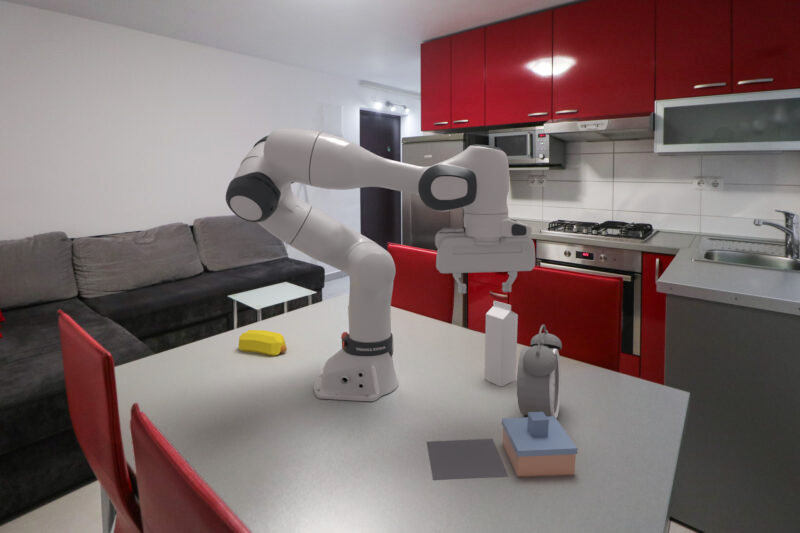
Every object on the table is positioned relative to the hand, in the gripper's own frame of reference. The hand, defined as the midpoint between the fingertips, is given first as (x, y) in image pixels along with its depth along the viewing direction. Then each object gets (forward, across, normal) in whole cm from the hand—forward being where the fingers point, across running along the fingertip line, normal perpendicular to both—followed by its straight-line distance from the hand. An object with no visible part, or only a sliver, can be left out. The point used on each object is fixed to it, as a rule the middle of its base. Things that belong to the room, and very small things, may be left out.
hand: (484, 292), depth 94 cm
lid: (+26, +8, -13) cm, 30 cm away
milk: (+31, +10, +22) cm, 40 cm away
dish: (+31, +8, -13) cm, 35 cm away
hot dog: (+31, -61, +49) cm, 84 cm away
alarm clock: (+31, +14, +3) cm, 34 cm away
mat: (+31, -6, -12) cm, 34 cm away
